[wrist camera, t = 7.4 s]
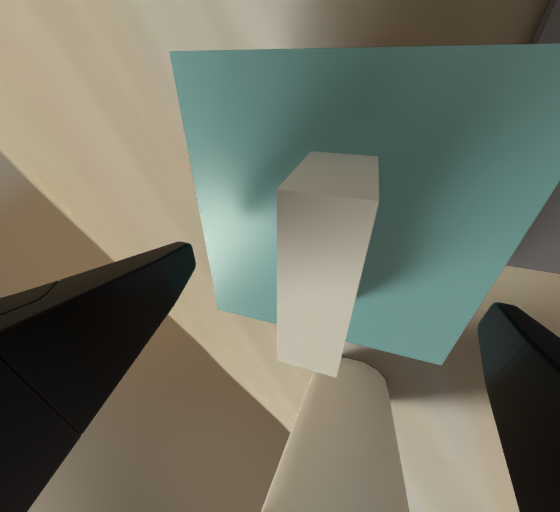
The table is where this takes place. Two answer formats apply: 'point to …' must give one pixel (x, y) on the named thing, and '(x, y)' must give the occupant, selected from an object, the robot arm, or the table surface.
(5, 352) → the robot arm
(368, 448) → the foam cup
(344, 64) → the cover plate
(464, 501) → the table surface
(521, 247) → the mat
